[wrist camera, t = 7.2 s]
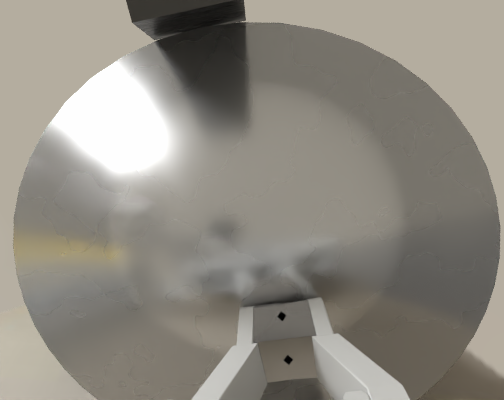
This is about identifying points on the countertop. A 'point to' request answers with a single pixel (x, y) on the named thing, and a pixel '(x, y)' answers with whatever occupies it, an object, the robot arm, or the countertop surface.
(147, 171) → the lid
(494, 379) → the countertop surface
